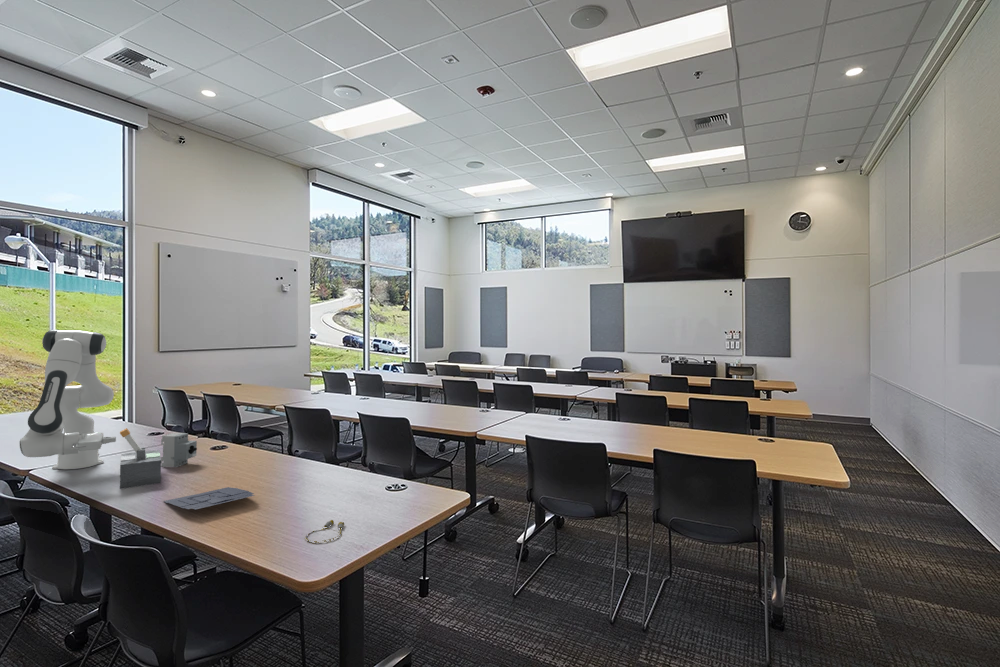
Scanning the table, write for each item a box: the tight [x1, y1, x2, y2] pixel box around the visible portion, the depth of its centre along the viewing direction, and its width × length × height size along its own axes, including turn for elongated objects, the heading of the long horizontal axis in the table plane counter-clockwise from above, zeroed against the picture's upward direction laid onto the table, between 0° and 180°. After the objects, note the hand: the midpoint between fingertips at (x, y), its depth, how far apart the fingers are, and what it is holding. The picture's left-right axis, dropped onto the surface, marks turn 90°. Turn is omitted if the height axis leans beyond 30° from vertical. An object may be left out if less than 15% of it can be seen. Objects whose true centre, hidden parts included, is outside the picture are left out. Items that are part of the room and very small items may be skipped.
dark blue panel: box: [163, 486, 256, 510], centre depth 189 cm, size 24×30×4 cm
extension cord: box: [305, 519, 345, 543], centre depth 163 cm, size 12×16×2 cm
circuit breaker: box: [160, 432, 198, 468], centre depth 241 cm, size 8×14×15 cm, turn 89°
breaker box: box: [119, 446, 162, 490], centre depth 217 cm, size 22×14×14 cm, turn 37°
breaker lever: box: [119, 428, 142, 453], centre depth 215 cm, size 3×3×14 cm
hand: (116, 439), depth 212 cm, fingers closed
